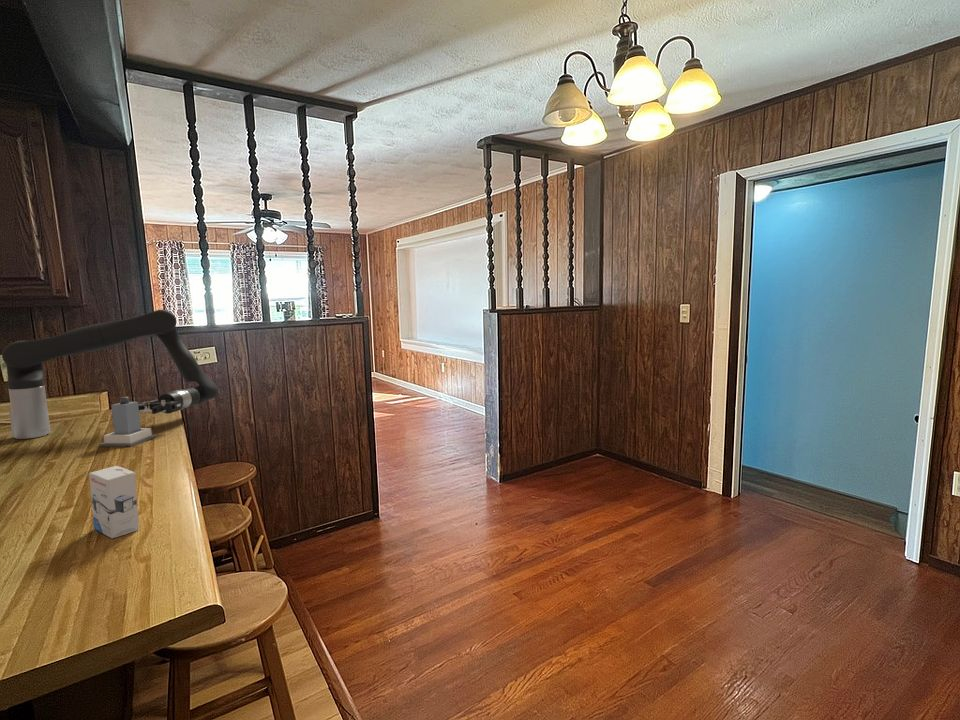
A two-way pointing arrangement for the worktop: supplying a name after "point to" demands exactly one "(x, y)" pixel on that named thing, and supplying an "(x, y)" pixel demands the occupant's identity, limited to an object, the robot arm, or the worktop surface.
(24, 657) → the worktop surface
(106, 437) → the socket block
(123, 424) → the grey-blue square bottle
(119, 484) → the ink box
